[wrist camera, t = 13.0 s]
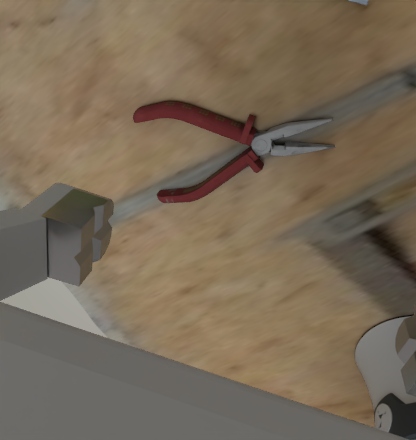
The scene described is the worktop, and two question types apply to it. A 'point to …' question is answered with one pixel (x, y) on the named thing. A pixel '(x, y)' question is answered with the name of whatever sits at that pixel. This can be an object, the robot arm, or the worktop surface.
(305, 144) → the pliers
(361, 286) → the worktop surface
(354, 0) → the shaft block
